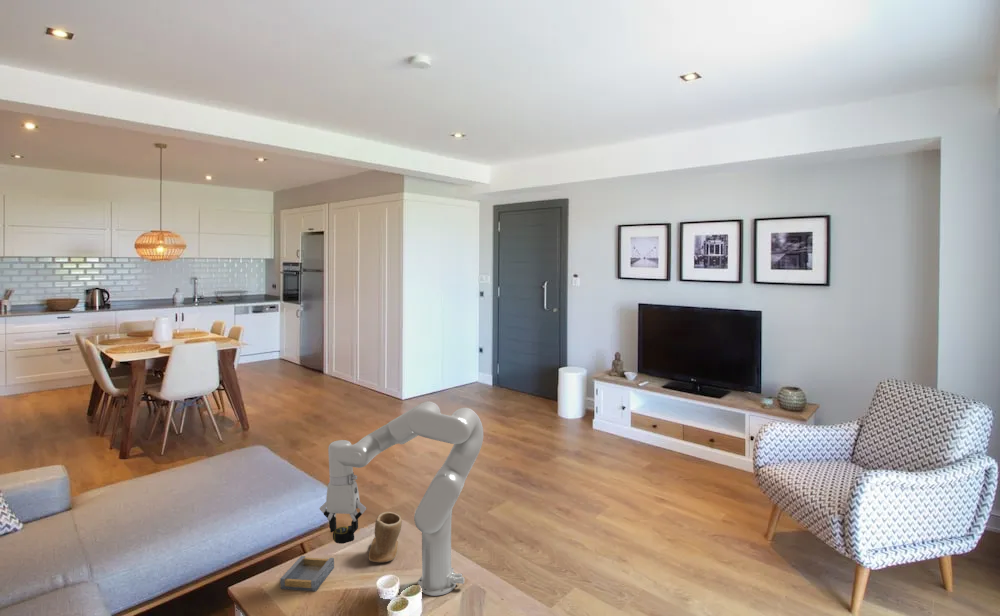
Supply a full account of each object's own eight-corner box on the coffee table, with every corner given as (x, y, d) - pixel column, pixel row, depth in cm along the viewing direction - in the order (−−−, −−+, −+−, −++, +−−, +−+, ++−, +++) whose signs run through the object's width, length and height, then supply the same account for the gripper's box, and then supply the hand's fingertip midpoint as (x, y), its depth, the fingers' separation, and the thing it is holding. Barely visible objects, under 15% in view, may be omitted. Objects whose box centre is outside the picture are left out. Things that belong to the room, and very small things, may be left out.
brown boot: (400, 564, 189) (399, 523, 188) (365, 565, 189) (364, 524, 188) (405, 543, 205) (404, 504, 204) (373, 544, 204) (372, 505, 203)
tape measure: (354, 543, 178) (354, 532, 177) (333, 547, 176) (332, 536, 175) (353, 534, 184) (353, 523, 184) (333, 537, 182) (332, 527, 182)
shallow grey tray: (334, 567, 188) (334, 558, 187) (315, 591, 174) (315, 581, 173) (301, 565, 189) (301, 555, 189) (280, 588, 175) (280, 578, 175)
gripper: (370, 474, 181) (373, 526, 182) (321, 473, 183) (324, 524, 184) (362, 483, 174) (364, 537, 175) (311, 482, 176) (314, 535, 177)
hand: (343, 530), depth 180 cm, fingers closed on tape measure, 6 cm apart
